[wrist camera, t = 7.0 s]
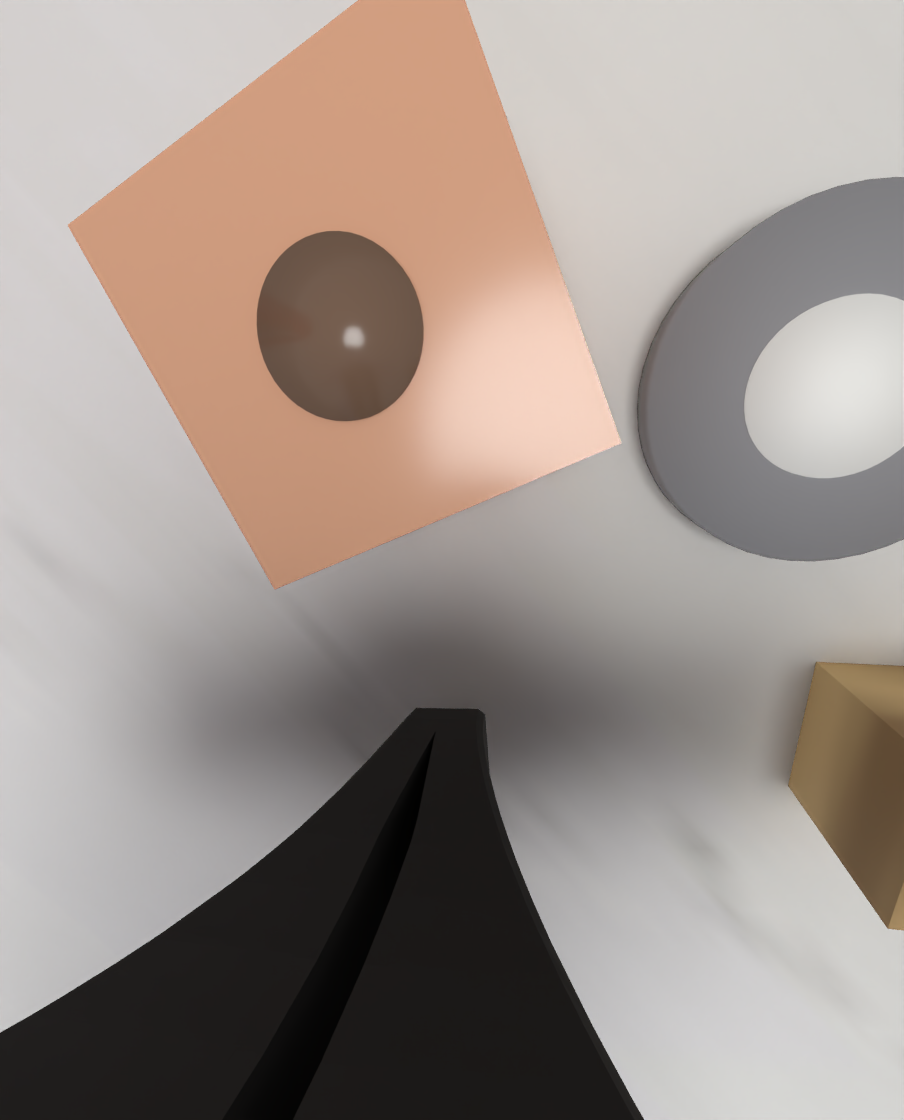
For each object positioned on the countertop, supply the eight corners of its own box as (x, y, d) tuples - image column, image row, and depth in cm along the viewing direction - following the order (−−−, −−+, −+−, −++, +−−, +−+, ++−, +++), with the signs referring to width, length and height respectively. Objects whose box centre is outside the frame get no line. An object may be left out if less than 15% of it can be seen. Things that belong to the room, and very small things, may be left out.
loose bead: (377, 514, 9) (271, 591, 5) (276, 308, 8) (61, 223, 4) (577, 426, 8) (624, 443, 4) (485, 180, 7) (440, -74, 3)
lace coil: (634, 553, 9) (646, 569, 8) (641, 233, 7) (657, 209, 6) (956, 540, 8) (1009, 556, 7) (1041, 174, 6) (1122, 137, 5)
